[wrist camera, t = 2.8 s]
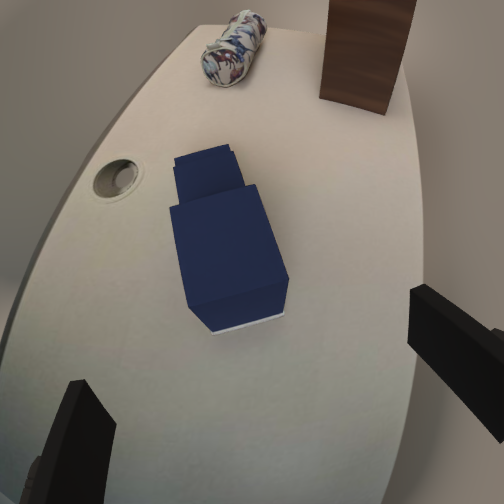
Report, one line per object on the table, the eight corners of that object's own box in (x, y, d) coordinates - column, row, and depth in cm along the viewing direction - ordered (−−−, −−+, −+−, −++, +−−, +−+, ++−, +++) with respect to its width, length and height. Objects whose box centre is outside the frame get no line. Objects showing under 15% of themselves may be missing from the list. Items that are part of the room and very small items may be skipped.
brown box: (384, 115, 46) (422, -27, 21) (319, 98, 49) (332, -49, 23) (384, 55, 56) (404, -45, 31) (336, 43, 59) (345, -59, 33)
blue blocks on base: (284, 315, 33) (291, 278, 22) (213, 335, 33) (185, 307, 22) (234, 165, 42) (224, 98, 32) (179, 180, 42) (155, 117, 31)
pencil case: (247, 90, 50) (243, 45, 41) (203, 88, 51) (194, 45, 43) (268, 41, 59) (267, 6, 50) (232, 40, 60) (229, 6, 51)
